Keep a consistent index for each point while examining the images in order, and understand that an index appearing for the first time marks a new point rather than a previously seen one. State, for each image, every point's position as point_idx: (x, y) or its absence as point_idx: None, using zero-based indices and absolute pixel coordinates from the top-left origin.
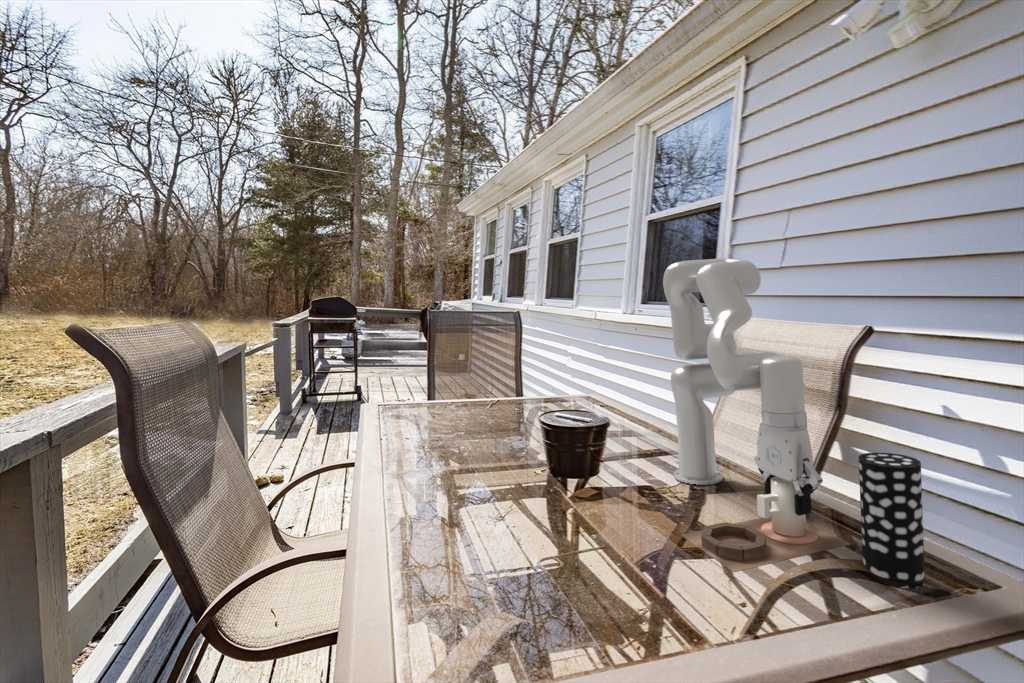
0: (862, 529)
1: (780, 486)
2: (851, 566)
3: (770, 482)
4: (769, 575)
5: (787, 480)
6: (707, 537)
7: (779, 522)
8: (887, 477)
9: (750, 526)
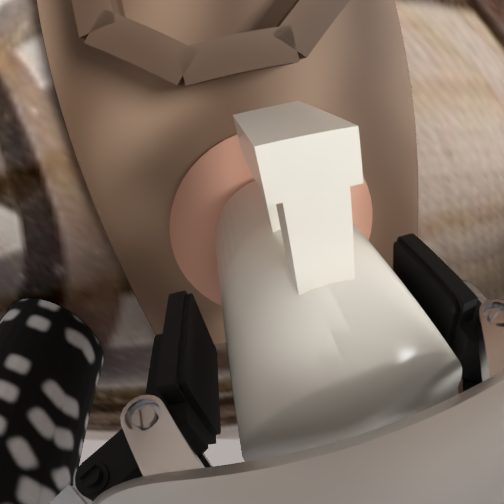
0: (3, 392)
1: (303, 369)
2: (78, 294)
3: (455, 330)
4: (30, 39)
5: (180, 473)
6: None
7: (257, 203)
8: None
9: (369, 119)
